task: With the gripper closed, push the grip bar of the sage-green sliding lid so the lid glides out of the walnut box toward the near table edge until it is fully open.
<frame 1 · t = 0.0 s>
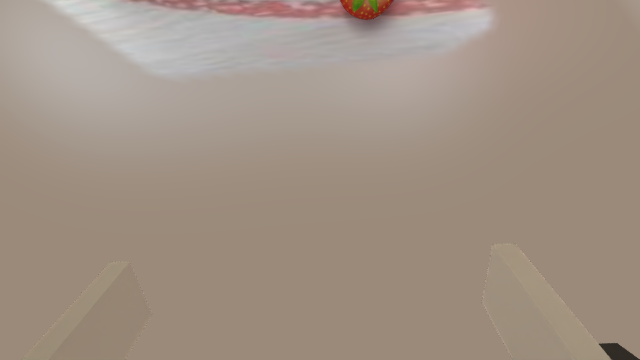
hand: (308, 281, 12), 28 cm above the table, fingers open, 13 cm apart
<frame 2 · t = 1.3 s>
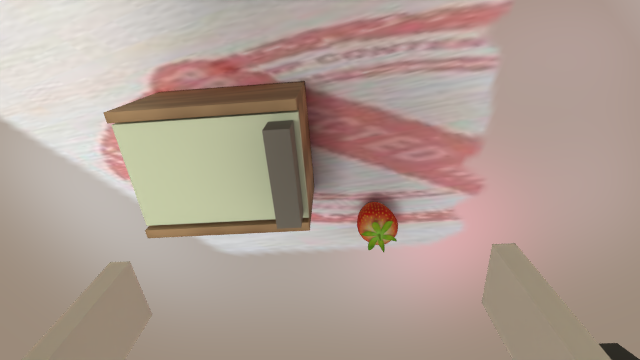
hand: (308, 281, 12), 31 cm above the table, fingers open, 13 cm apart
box: (241, 141, 43), on the table
fruit: (372, 207, 47), on the table
lid: (212, 178, 32), point 12 cm above the table, slide at 0.0 cm
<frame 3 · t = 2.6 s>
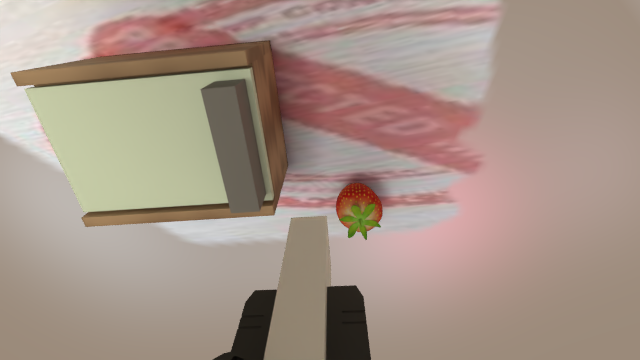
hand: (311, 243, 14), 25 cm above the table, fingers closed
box: (201, 114, 37), on the table
fruit: (355, 189, 41), on the table
lid: (151, 153, 27), point 12 cm above the table, slide at 0.0 cm
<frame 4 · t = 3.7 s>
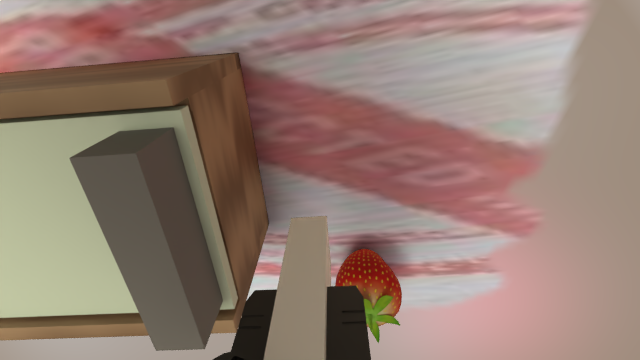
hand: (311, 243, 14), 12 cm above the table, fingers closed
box: (143, 156, 26), on the table
fruit: (362, 254, 30), on the table
lid: (19, 248, 16), point 12 cm above the table, slide at 0.0 cm
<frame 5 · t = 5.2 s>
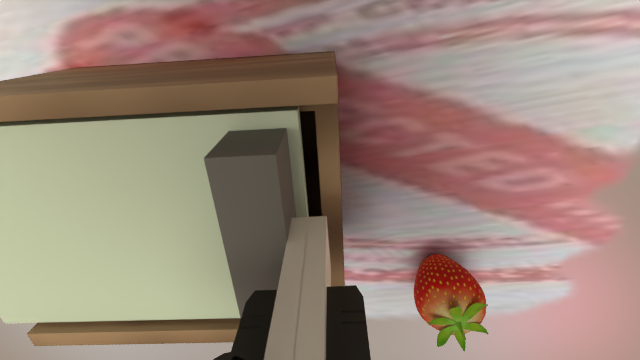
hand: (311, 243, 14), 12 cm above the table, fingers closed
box: (221, 155, 25), on the table
fruit: (431, 259, 29), on the table
lid: (110, 250, 15), point 12 cm above the table, slide at 1.7 cm, touching gripper
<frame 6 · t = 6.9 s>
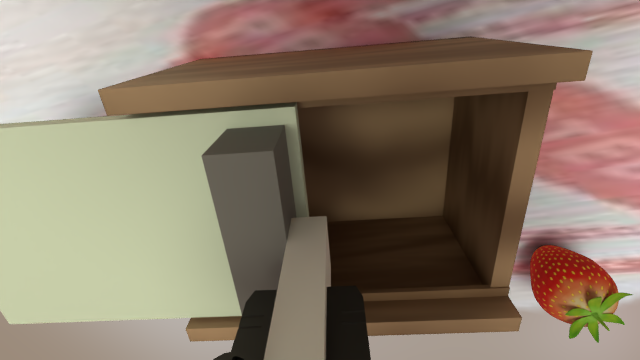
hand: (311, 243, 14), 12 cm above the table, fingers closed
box: (338, 147, 25), on the table
fruit: (537, 251, 29), on the table
lid: (112, 249, 15), point 12 cm above the table, slide at 10.6 cm, touching gripper
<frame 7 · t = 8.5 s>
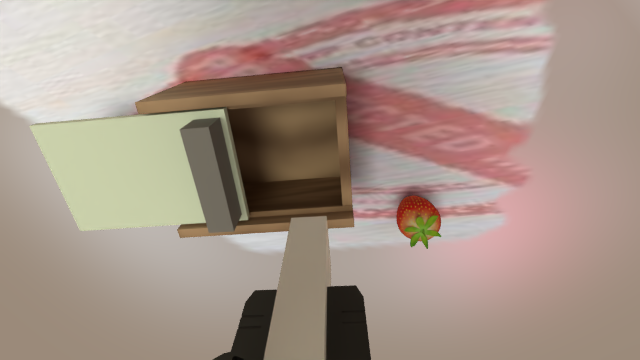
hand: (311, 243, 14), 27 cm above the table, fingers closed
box: (272, 133, 40), on the table
fruit: (409, 201, 44), on the table
lid: (139, 180, 30), point 12 cm above the table, slide at 10.7 cm
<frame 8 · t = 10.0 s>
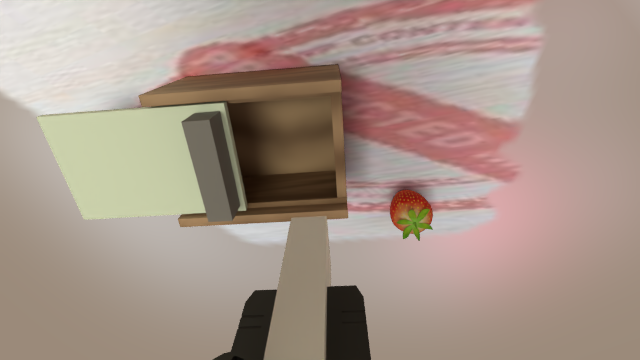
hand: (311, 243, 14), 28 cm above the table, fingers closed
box: (270, 128, 41), on the table
fruit: (403, 195, 45), on the table
lid: (141, 171, 32), point 12 cm above the table, slide at 10.7 cm
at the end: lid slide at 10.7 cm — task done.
